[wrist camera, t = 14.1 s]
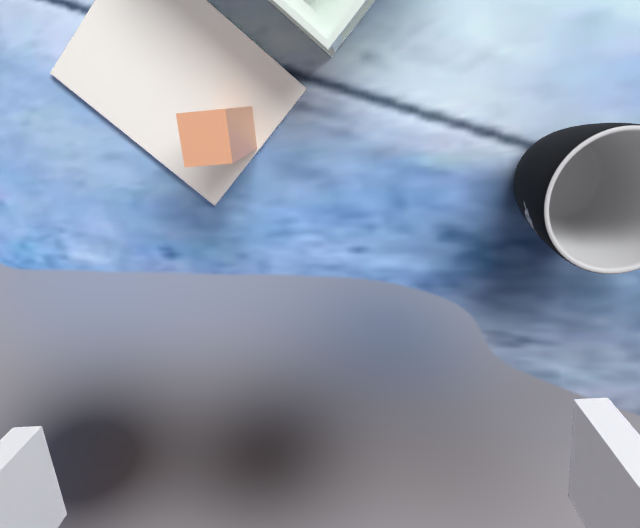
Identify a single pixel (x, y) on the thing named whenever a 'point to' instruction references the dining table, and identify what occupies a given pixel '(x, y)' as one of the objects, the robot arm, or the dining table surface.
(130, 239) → the dining table surface
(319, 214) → the dining table surface
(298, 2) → the tub
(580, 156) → the mug
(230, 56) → the lid
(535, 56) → the dining table surface
